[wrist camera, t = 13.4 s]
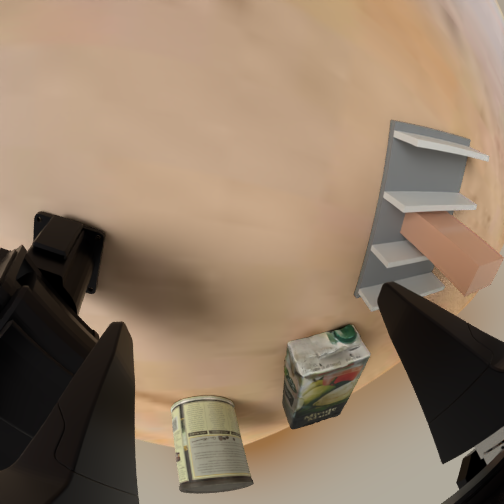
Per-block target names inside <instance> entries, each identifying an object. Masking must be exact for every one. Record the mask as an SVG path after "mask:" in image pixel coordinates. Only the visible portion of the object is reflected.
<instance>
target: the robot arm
mask: <svg viewBox="0 0 504 504" xmlns="http://www.w3.org/2000/svg"><path fill="white" fill-rule="evenodd" d="M39 217H41V219H42V220H40V219H39ZM97 235H99V236H100V237H101V238H98V237H97ZM104 241H105V233H104V232H103V231H101V230H98V229H95V228H92V227H89V226H85V225H82V224H81V223H79V222H76V221H73V220H70V219H67V218H63V217H60V216H57V215H55V216H54V215H51V214H47V213H44V212H38V213H37V214H36V215H35V218H34V238H33V243H32V246H31V247H30V248H29V250H28V251H27V250H26V249H25V248H24V246H23V245H21V246H20V247H18V248H17V249H16V250H15V249H14V250H13V251H11V250H10V251H8V250H6V249H3V248H0V504H139V498H138V488H137V476H136V460H135V375H134V359H133V341H132V338H131V335H130V333H129V331H128V329H127V327H126V325H125V323H124V322H112V323H111V324H110V325H109V327H108V328H107V329H106V331H105V332H104V333H103V335H102V336H101V338H100V339H99V334H98V333H97V332H96V331H95V330H92V329H91V328H90V327H89V326H88V325H87V324H86V323H85V322H84V321H83V320H82V319H81V318H80V317H79V316H78V314H79V311H80V308H81V305H82V302H83V299H84V296H85V293H90V294H94V293H95V291H96V288H97V281H98V274H99V268H100V262H101V256H102V251H103V246H104ZM89 287H90V288H89ZM91 288H92V289H91ZM377 304H378V307H379V310H380V312H381V315H382V317H383V320H384V323H385V325H386V328H387V331H388V333H389V336H390V338H391V340H392V342H393V345H394V347H395V349H396V351H397V353H398V355H399V357H400V359H401V361H402V364H403V366H404V368H405V370H406V372H407V374H408V377H409V379H410V381H411V384H412V386H413V388H414V390H415V393H416V395H417V398H418V400H419V402H420V405H421V407H422V410H423V412H424V415H425V417H426V420H427V422H428V425H429V428H430V431H431V433H432V436H433V439H434V442H435V444H436V447H437V450H438V453H439V456H440V459H441V462H442V464H444V463H446V462H448V461H450V460H452V459H454V458H456V457H457V456H459V455H461V454H463V453H464V452H466V451H468V450H469V449H471V448H472V447H475V449H474V450H473V451H471V452H470V453H469V454H468V455H467V456H465V457H464V458H463V460H462V464H461V468H460V472H459V476H458V479H457V482H456V483H457V485H458V487H459V491H457V492H456V493H455V494H454V495H453V496H451V497H450V498H448V499H447V500H446V501H444V502H443V503H442V504H504V342H502V341H500V340H498V339H496V338H494V337H492V336H490V335H489V334H487V333H485V332H483V331H481V330H479V329H478V328H476V327H474V326H472V325H471V324H469V323H466V321H464V320H462V319H460V318H459V317H457V316H455V315H454V314H452V313H450V312H448V311H447V310H445V309H443V308H441V307H440V306H438V305H436V304H434V303H432V302H431V301H429V300H427V299H425V298H423V297H422V296H420V295H418V294H416V293H414V292H413V291H411V290H409V289H407V288H405V287H403V286H402V285H400V284H398V283H396V282H394V281H390V282H386V283H384V284H383V285H382V288H381V290H380V293H379V296H378V298H377Z"/></svg>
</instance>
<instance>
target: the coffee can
mask: <svg viewBox="0 0 504 504" xmlns="http://www.w3.org/2000/svg"><path fill="white" fill-rule="evenodd" d="M234 407H235V406H234V403H233V402H232V401H231V400H229V399H227V398H224V397H219V396H195V397H190V398H185V399H182V400H180V401H178V402H176V403H174V404H173V406H172V407H171V413H172V425H173V435H174V445H175V453H176V462H177V469H178V476H179V482H180V487H179V490H180V491H181V492H185V493H217V492H225V491H231V490H237V489H241V488H245V487H248V486H250V485H252V484H253V480H252V479H251V475H250V471H249V468H248V463H247V460H246V455H245V452H244V448H243V443H242V439H241V435H240V431H239V426H238V422H237V418H236V413H235V408H234Z"/></svg>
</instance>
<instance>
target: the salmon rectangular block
mask: <svg viewBox="0 0 504 504" xmlns="http://www.w3.org/2000/svg"><path fill="white" fill-rule="evenodd" d="M400 233H401V234H402V235H403V236H404V237H405V238H406V239H407V240H409V241H410V242H411V243H412V244H413V245H414V246H415V247H416V248H417V249H418V250H419V251H420V252H421V253H422V254H424V255H425V256H426V257H427V258H428V259H429V260H430V261H431V262H432V263H433V264H434V265H435V266H436V267H437V268H438V269H439V270H440V271H441V272H442V273H443V274H444V275H445V276H446V277H447V278H448V279H449V280H450V282H451V283H452V284H453V285H454V286H455V287H456V288H457V289H458V290H459V291H460V292H461V293H462V294H463V295H464V296H466V295H469V294H471V293H473V292H476V291H478V290H480V289H482V288H484V287H487V286H489V285H491V283H492V281H493V279H494V277H495V275H496V273H497V271H498V269H499V267H500V265H501V263H502V261H503V259H504V258H503V257H502V256H501V255H500V254H499V253H498V252H497V251H496V250H495V249H493V248H492V247H491V246H490V245H489V244H488V243H486V242H485V241H484V240H483V239H482V238H480V237H479V236H478V235H477V234H476V233H474V232H473V231H472V230H471V229H469V228H468V227H467V226H465V225H464V224H463V223H462V222H460V221H459V220H458V219H456V218H455V217H454V216H452V215H451V214H450V213H448V212H447V211H427V212H408V213H405V217H404V220H403V224H402V227H401V231H400Z"/></svg>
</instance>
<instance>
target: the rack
mask: <svg viewBox="0 0 504 504" xmlns="http://www.w3.org/2000/svg"><path fill="white" fill-rule="evenodd" d="M469 146H470V139H467V138H464V137H461V136H458V135H454V134H451V133H447V132H443V131H440V130H436V129H432V128H428V127H424V126H419V125H415V124H410V123H405V122H400V121H395V120H391V124H390V132H389V140H388V147H387V154H386V161H385V167H384V173H383V179H382V184H381V189H380V194H379V199H378V204H377V209H376V214H375V218H374V223H373V227H372V231H371V235H370V239H369V243H368V247H367V251H366V255H365V259H364V262H363V266H362V269H361V273H360V276H359V280H358V283H357V286H356V290H355V293H354V295H355V297H356V298H359V297H361V298H362V299H363V301H364V302H365V303H366V305H367V306H368V308H369V309H370V311H371V312H372V311H375V310H379V307H378V304H377V298H378V296H379V293H380V290H381V288H382V285H383V284H384V283H386V282H390V281H394V282H396V283H398V284H400V285H402V286H403V287H405V288H407V289H409V290H411V291H413V292H414V293H416V294H418V295H420V296H422V297H423V296H426V295H429V294H432V293H435V292H438V291H441V290H444V288H445V285H444V284H443V283H442V282H441V281H440V280H439V279H438V278H437V277H436V276H435V275H434V274H433V273H432V270H433V268H434V264H433V263H432V262H431V261H430V260H429V259H428V258H427V257H426V256H425V255H424V254H422V253H421V252H420V251H419V250H418V249H417V248H416V247H415V246H414V245H413V244H412V243H411V242H410V241H409V240H407V239H406V238H405V237H404V236H403V235H402V234H401V233H400V231H401V227H402V224H403V220H404V217H405V213H408V212H427V211H447V212H448V213H450V214H451V215H453V212H454V210H476V207H477V204H475V203H474V202H473V201H471V200H470V199H468V198H466V197H465V196H463V195H462V194H460V193H459V191H460V187H461V183H462V179H463V175H464V170H465V166H466V161H467V156H468V157H472V158H476V159H480V160H484V161H488V160H489V156H488V155H486V154H484V153H482V152H480V151H478V150H476V149H473V148H471V147H469Z"/></svg>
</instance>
